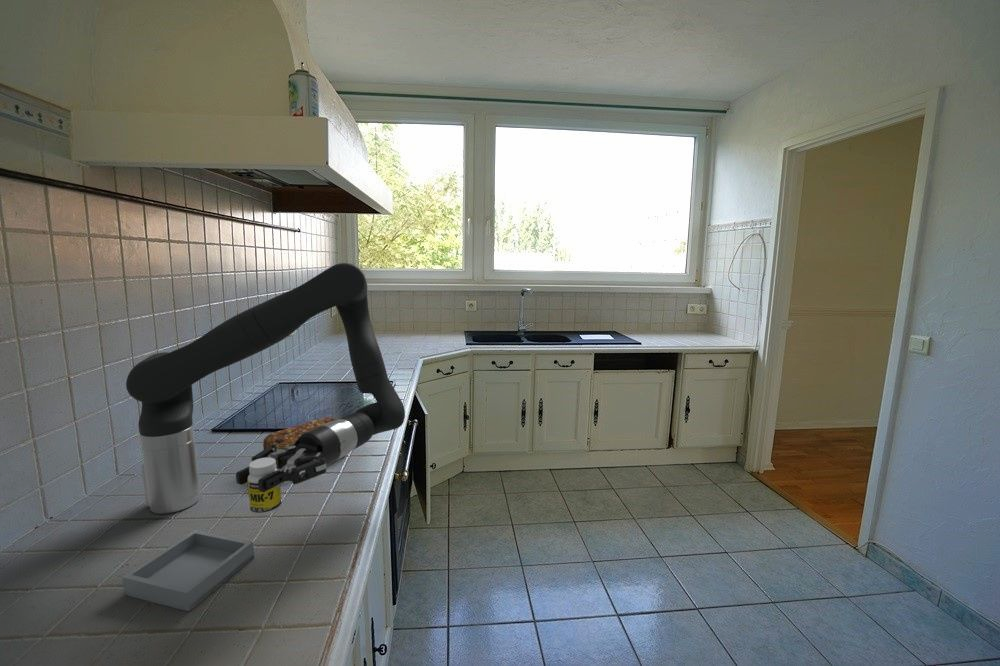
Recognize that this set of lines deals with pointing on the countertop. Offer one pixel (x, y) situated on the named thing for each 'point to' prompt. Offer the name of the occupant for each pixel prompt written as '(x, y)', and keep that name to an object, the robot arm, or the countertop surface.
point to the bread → (292, 434)
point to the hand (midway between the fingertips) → (249, 482)
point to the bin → (188, 570)
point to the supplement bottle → (260, 500)
